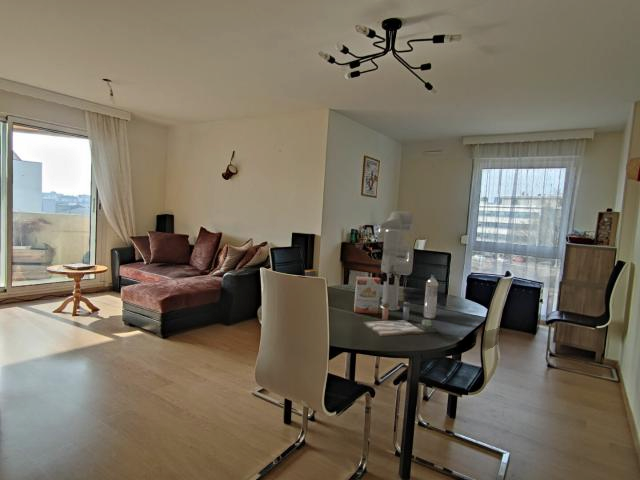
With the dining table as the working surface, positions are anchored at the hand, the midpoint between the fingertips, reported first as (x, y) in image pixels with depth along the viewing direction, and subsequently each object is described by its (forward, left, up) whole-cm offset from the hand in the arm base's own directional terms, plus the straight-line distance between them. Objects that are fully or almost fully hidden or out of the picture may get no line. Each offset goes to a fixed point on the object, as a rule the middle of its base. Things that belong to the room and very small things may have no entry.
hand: (387, 283), depth 204 cm
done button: (+18, +15, -20) cm, 30 cm away
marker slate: (0, +14, -21) cm, 25 cm away
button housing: (+18, +15, -21) cm, 31 cm away
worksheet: (+13, -2, -21) cm, 25 cm away
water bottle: (-3, +32, -22) cm, 38 cm away
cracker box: (-18, -2, -22) cm, 28 cm away
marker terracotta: (-1, +1, -21) cm, 21 cm away
